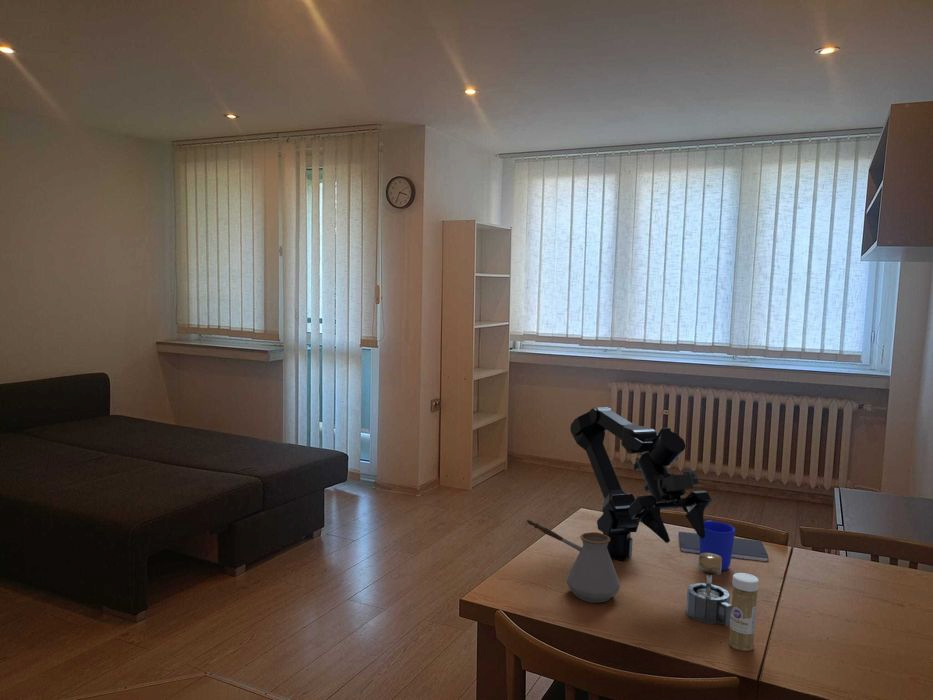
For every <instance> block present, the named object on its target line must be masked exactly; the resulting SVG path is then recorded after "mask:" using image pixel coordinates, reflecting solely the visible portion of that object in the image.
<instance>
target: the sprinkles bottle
mask: <svg viewBox="0 0 933 700" xmlns="http://www.w3.org/2000/svg"><path fill="white" fill-rule="evenodd" d="M731 584H732V597H731V600H732V601H731V605H732V609H731V617H730V625H729V639H728V645H729V646H730V647H732V648H733V649H735V650H737V651H742V652H751V651H753V650H754V648H755V644H754V643H755V633H756V621H757V620H756V618H757V605H758V603H757V600H758V591H759V588H760V587H759V586H760V580H759V578H758V577H757V576H755V575H753V574H751V573H747V572H736V573H734V574H733V575H732V583H731Z"/></svg>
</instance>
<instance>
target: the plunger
mask: <svg viewBox="0 0 933 700" xmlns="http://www.w3.org/2000/svg"><path fill="white" fill-rule="evenodd" d="M698 554H699V555H698V571H699V572H700V573H701V574H705V575H706V580H705V581H706V582H705V583H706V589H699V590H697V594H699V595H702V596H705V597H711V598H718V597H720V594H719V593H718V592H716V591H714V590H711V584H712V582H713V576H720V575H721V574H722V570H721V566H722V557H721V556H719V555H717V554H713V553H701V554H700V553H698ZM712 585H713V584H712Z"/></svg>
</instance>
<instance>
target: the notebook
mask: <svg viewBox="0 0 933 700" xmlns="http://www.w3.org/2000/svg"><path fill="white" fill-rule="evenodd" d="M678 537H679V538H678V539H679V548H680V550H681V551H682V552H685V553H686V552H687V553H694V554H700V537H699V535H698V534H697V533H695V532H687V531H678ZM731 558H737V559H743V558H744V560H752V561H753V560H754V561H761V562H767V561H768V558H769V555H768V552H767V550H766V548H765V546H764V544H763V541H762V540H758V539H757V540H756V539H747V538H739V537H734V542H733V549H732V555H731Z"/></svg>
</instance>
